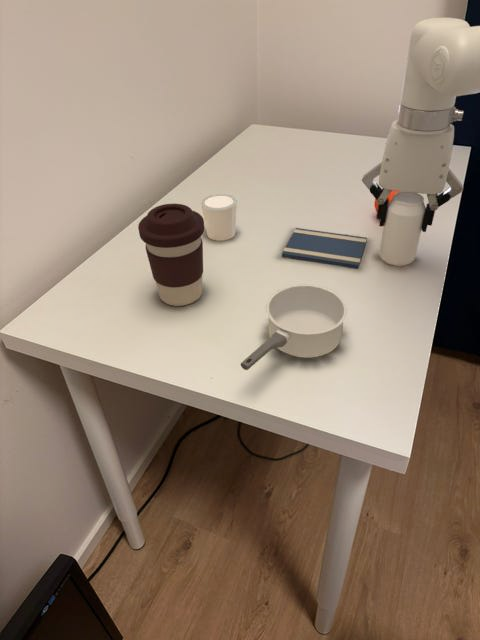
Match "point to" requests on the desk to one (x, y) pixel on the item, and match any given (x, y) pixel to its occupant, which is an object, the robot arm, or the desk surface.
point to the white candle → (220, 216)
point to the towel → (325, 248)
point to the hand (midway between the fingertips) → (403, 224)
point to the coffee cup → (174, 251)
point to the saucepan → (302, 322)
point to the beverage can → (402, 228)
